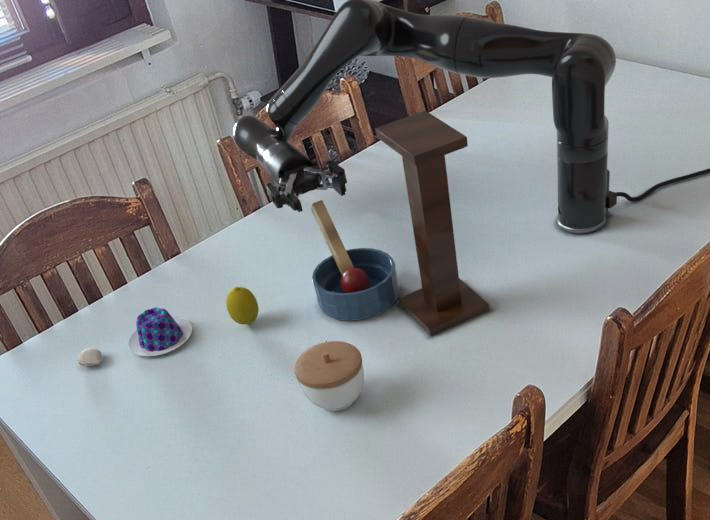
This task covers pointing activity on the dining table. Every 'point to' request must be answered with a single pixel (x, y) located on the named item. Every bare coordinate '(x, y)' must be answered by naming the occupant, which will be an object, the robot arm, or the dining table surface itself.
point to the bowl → (362, 302)
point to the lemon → (242, 305)
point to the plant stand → (432, 221)
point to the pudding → (158, 333)
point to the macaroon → (90, 357)
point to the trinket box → (330, 374)
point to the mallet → (339, 252)
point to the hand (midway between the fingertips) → (321, 198)
